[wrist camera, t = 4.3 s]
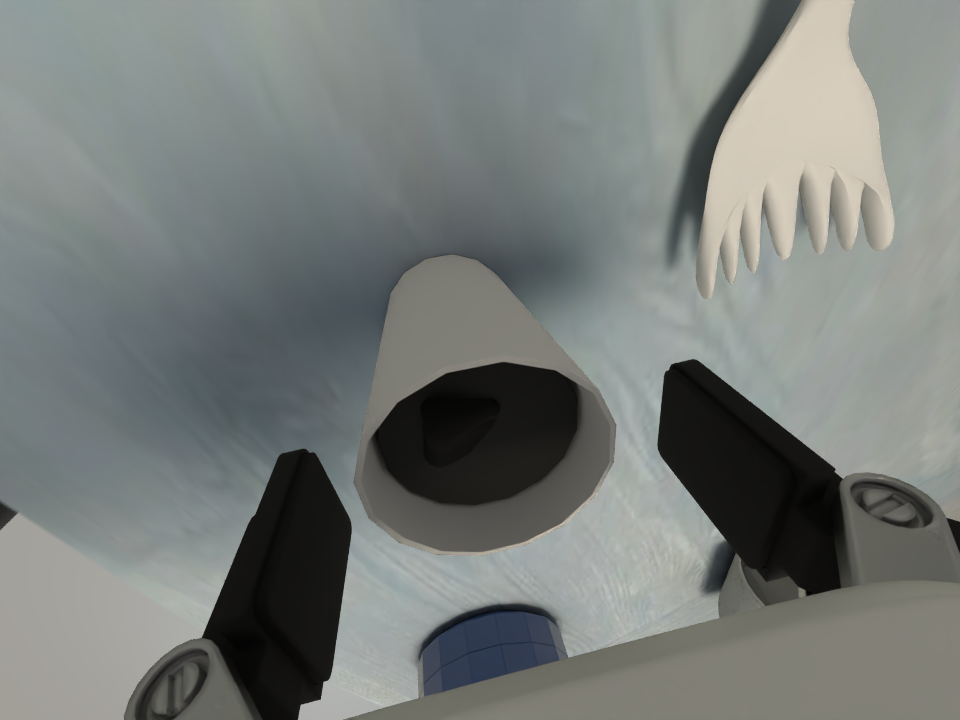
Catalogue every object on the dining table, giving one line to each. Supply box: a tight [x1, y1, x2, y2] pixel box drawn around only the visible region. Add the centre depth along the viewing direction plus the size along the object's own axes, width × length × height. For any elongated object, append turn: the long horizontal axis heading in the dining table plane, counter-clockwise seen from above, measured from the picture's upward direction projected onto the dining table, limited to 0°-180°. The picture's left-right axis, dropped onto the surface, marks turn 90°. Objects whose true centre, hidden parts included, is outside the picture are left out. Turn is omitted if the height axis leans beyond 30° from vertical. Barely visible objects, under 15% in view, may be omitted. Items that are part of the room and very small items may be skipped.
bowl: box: [418, 611, 568, 698], centre depth 32 cm, size 12×12×5 cm
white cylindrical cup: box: [354, 254, 616, 556], centre depth 14 cm, size 7×7×10 cm
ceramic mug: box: [718, 553, 799, 618], centre depth 32 cm, size 11×8×8 cm
